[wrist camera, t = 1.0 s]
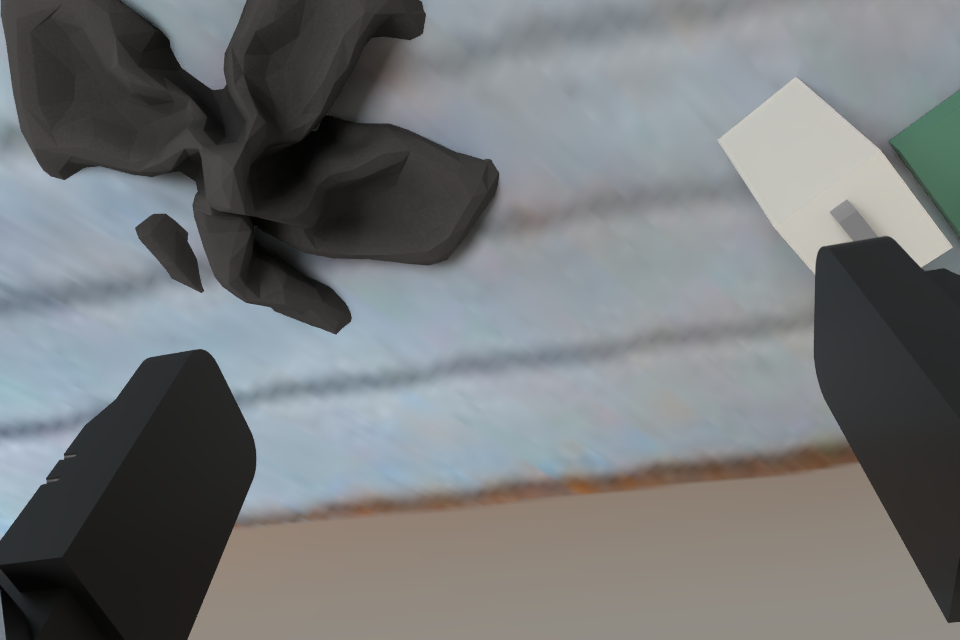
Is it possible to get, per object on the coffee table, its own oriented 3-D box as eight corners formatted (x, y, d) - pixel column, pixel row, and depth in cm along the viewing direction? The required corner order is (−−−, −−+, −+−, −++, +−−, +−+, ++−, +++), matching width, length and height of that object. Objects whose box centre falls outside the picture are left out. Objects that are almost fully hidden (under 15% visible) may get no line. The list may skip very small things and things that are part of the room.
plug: (795, 76, 29) (892, 160, 21) (856, 155, 30) (965, 259, 23) (717, 140, 30) (781, 238, 23) (779, 212, 32) (858, 327, 24)
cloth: (-81, 10, 29) (-208, 48, 24) (325, -238, 25) (273, -257, 19) (243, 416, 40) (202, 502, 35) (571, 299, 35) (580, 379, 30)
